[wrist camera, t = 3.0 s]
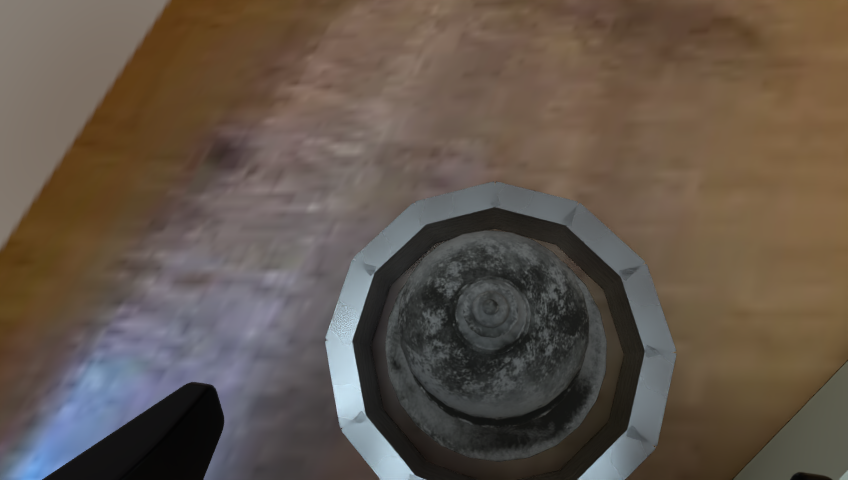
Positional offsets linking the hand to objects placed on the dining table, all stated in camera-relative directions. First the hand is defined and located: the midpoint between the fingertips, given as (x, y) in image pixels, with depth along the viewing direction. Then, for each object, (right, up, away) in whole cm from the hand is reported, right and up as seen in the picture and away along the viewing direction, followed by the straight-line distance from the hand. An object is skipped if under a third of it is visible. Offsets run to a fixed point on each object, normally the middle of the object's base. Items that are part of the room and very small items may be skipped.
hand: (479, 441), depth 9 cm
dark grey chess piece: (+1, -1, +10) cm, 10 cm away
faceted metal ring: (+1, 0, +9) cm, 9 cm away
